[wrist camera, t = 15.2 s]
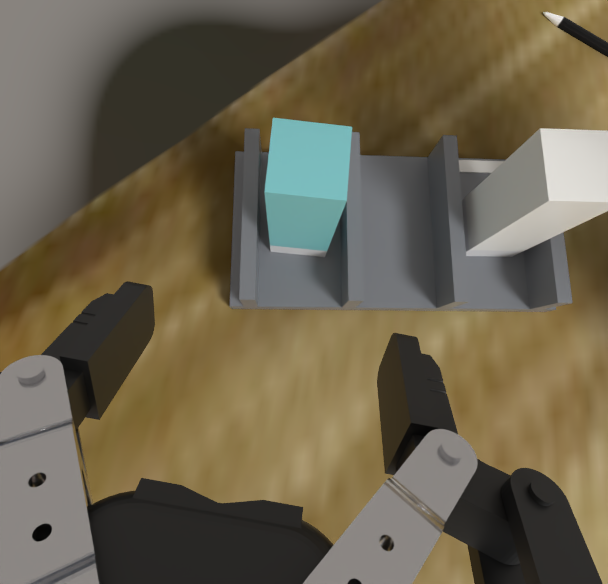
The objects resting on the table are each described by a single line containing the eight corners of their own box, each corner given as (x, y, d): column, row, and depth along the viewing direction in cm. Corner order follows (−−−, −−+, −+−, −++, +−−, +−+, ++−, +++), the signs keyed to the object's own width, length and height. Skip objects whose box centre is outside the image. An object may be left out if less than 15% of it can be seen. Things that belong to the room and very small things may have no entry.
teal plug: (328, 206, 30) (352, 126, 20) (324, 257, 29) (346, 200, 19) (276, 200, 29) (273, 117, 20) (270, 251, 29) (264, 192, 19)
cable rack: (529, 168, 32) (565, 139, 28) (545, 311, 30) (586, 303, 26) (237, 159, 31) (230, 127, 27) (231, 308, 29) (223, 299, 25)
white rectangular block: (506, 207, 30) (613, 130, 21) (511, 256, 30) (625, 202, 20) (456, 205, 30) (539, 128, 20) (459, 255, 29) (548, 200, 20)
